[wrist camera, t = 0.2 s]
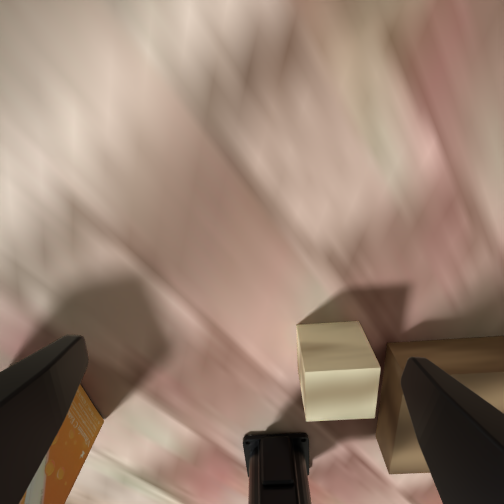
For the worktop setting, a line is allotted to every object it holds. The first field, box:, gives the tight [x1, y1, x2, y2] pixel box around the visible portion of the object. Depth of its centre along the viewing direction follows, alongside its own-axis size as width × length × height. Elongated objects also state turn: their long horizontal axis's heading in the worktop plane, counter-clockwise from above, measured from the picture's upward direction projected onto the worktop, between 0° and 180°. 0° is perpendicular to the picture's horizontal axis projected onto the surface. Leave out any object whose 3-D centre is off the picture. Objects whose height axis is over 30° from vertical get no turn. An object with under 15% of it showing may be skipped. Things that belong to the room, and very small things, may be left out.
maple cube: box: [296, 321, 381, 422], centre depth 24 cm, size 5×5×5 cm
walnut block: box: [376, 336, 504, 474], centre depth 27 cm, size 12×12×4 cm
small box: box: [19, 385, 104, 504], centre depth 23 cm, size 8×6×13 cm
